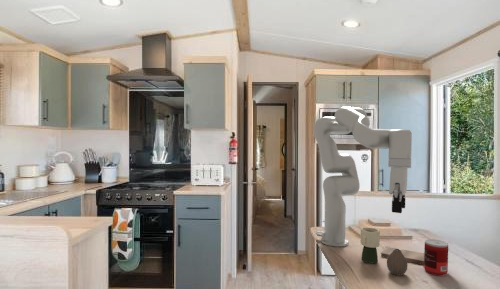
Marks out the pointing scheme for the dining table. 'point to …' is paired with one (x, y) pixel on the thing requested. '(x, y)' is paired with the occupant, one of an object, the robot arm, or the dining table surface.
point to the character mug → (370, 244)
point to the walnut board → (406, 255)
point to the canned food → (436, 257)
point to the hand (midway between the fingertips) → (398, 210)
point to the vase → (397, 262)
